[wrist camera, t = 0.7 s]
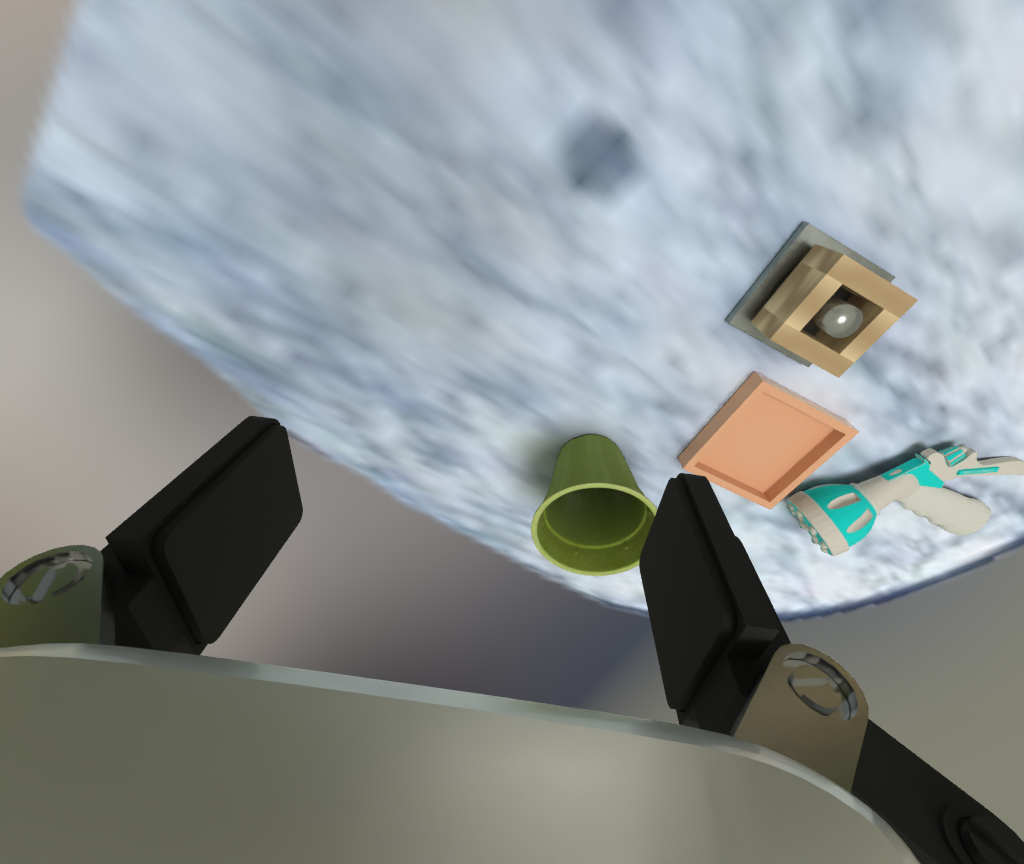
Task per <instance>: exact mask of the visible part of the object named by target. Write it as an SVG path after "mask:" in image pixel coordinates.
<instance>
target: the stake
mask: <svg viewBox="0 0 1024 864" xmlns="http://www.w3.org/2000/svg"><path fill="white" fill-rule="evenodd" d="M815 244H817V245H820V246H822V247H825V248H828V249H831V250H834V251H836V252H839V253H842V254H844V255H846V256H848V257H849V258H851V259H852V260H854V261H856V262H857V263H859V264H861V265H862V266H864V267H865V268H867V269H869V270H870V271H872V272H873V273H875V274H877V275H878V276H880V277H881V278H883V279H885V280H886V281H888V282H891V281H892V280H893V279H894V278H895V277H894V276H893V275H891V274H890V273H888V272H886V271H885V270H883V269H882V268H880V267H878V266H877V265H875V264H874V263H872V262H870V261H869V260H867V259H866V258H864V257H862V256H861V255H859V254H858V253H856V252H854V251H853V250H851V249H850V248H848V247H846V246H845V245H843V244H842V243H840V242H838V241H837V240H835V239H834V238H832V237H830V236H829V235H827V234H826V233H824V232H822V231H821V230H819V229H818V228H816V227H814V226H813V225H811V224H810V223H807V222H802V223H801V225H800V226H799V227H798V228H797V230H796V231H795V232H794V233H793V235H792V236H791V237H790V238H789V240H788V241H787V242H786V244H785V245H784V246H783V247H782V249H781V250H780V251H779V252H778V254H777V255H776V256H775V258H774V259H773V260H772V261H771V263H770V264H769V265H768V266H767V268H766V269H765V270H764V271H763V273H762V274H761V275H760V277H759V278H758V279H757V280H756V282H755V283H754V284H753V285H752V287H751V288H750V289H749V290H748V292H747V293H746V294H745V296H744V297H743V298H742V299H741V301H740V302H739V303H738V304H737V306H736V307H735V308H734V310H733V311H732V312H731V313H730V315H729V316H728V317H727V318H726V321H727V322H728V323H729V324H731V325H733V326H735V327H736V328H738V329H740V330H742V331H744V332H745V333H747V334H749V335H751V336H753V337H754V338H756V339H758V340H760V341H762V342H763V343H765V344H767V345H769V346H771V347H773V348H774V349H776V350H778V351H780V352H782V353H783V354H785V355H787V356H789V357H791V358H792V359H794V360H796V361H798V362H800V363H802V364H803V365H805V366H807V367H809V366H810V365H811V364H812V363H811V362H810V361H808V360H806V359H804V358H802V357H801V356H799V355H797V354H795V353H793V352H792V351H790V350H788V349H786V348H784V347H783V346H781V345H779V344H777V343H775V342H774V341H772V340H770V339H769V338H768V337H766V336H765V335H764V334H763V333H762V332H761V331H760V330H759V329H757V328H756V327H755V326H754V325H753V324H752V323H751V321H752V320H753V319H754V318H755V316H756V315H757V314H758V313H759V312H760V310H761V309H762V308H763V307H764V306H765V304H766V303H767V302H768V301H769V299H770V298H771V297H772V296H773V295H774V293H775V292H776V291H777V290H778V289H779V287H780V286H781V285H782V284H783V283H784V281H785V280H786V279H787V278H788V276H789V275H790V274H791V273H792V272H793V270H794V269H795V268H796V267H797V266H798V264H799V263H800V262H801V261H802V259H803V258H804V257H805V256H806V255H807V253H808V252H809V251H810V250H811V249H812V247H813V246H814V245H815ZM852 295H853V294H852V293H851V292H849V291H847V290H846V289H844V288H842V287H841V286H840V287H839V289H838V290H837V291H836V292H835V293H834V294H833V295H832V296H831V297H830V299H829V300H828V301H827V302H826V303H825V304H824V305H823V306H822V307H821V308H820V310H819V311H818V312H817V313H816V314H815V315H814V316H813V317H812V318H811V320H810V321H809V322H808V323H807V324H806V325H805V326H804V327H803V328H802V329H803V330H805V331H806V332H808V333H810V334H812V335H813V336H815V335H816V334H817V333H818V332H819V330H820V329H821V330H823V331H824V332H826V333H827V334H829V335H830V336H832V337H834V338H844V337H847V336H849V335H851V334H853V333H854V332H855V331H856V330H858V328H859V327H860V326H861V324H862V321H863V313H862V311H861V310H860V309H859V308H857V307H855V306H853V305H851V304H849V303H847V302H846V301H847V300H848V299H849V298H850V297H851V296H852Z"/></svg>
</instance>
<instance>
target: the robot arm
mask: <svg viewBox="0 0 1024 864" xmlns="http://www.w3.org/2000/svg"><path fill="white" fill-rule="evenodd" d="M302 513H303V507H302V502H301V498H300V493H299V488H298V483H297V478H296V473H295V469H294V464H293V459H292V455H291V449H290V445H289V440H288V435H287V431H286V428H285V427H284V426H281V425H280V423H279V422H278V420H276V419H272V418H265V417H257V416H249V417H248V418H246V419H245V420H244V421H242V422H241V423H240V424H239V425H238V426H237V427H235V428H234V429H233V430H232V431H231V432H229V433H228V434H227V435H226V436H225V437H224V438H222V439H221V440H220V441H219V442H218V443H216V444H215V445H214V446H213V447H212V448H211V449H209V450H208V451H207V452H206V453H205V454H203V455H202V456H201V457H200V458H199V459H198V460H196V461H195V462H194V463H193V464H192V465H190V466H189V467H188V468H187V469H186V470H185V471H183V472H182V473H181V474H180V475H179V476H177V477H176V478H175V479H174V480H173V481H172V482H170V483H169V484H168V485H167V486H166V487H164V488H163V489H162V490H161V491H160V492H159V493H157V494H156V495H155V496H154V497H153V498H151V499H150V500H149V501H148V502H147V503H146V504H144V505H143V506H142V507H141V508H140V509H138V510H137V511H136V512H135V513H134V514H132V515H131V516H130V517H129V518H128V519H127V520H125V521H124V522H123V523H122V524H121V525H119V526H118V527H117V528H116V529H115V530H114V531H112V532H111V533H110V534H109V535H108V536H107V537H106V539H107V541H108V543H109V544H108V545H107V546H106V547H105V548H103V549H102V550H101V551H99V550H97V549H96V548H95V547H90V546H85V545H73V546H72V545H70V546H65V547H60V548H55V549H52V550H49V551H46V552H43V553H41V554H38V555H35V556H33V557H31V558H29V559H27V560H25V561H24V562H21V563H20V564H18V565H17V566H15V567H14V568H12V569H11V570H9V571H8V572H6V573H5V574H4V575H3V576H2V577H1V578H0V864H1024V842H1023V841H1022V840H1021V839H1020V838H1019V837H1018V836H1017V834H1016V833H1015V832H1014V831H1013V830H1012V829H1010V828H1009V827H1008V826H1007V825H1006V824H1005V823H1003V822H1002V821H1001V820H1000V819H999V818H998V817H996V816H995V815H994V814H993V813H992V812H990V811H989V810H988V809H986V808H985V807H984V806H982V805H981V804H980V803H978V802H977V801H976V800H974V799H973V798H972V797H971V796H969V795H968V794H966V793H965V792H964V791H963V790H961V789H960V788H959V787H957V786H956V785H955V784H953V783H952V782H951V781H950V780H948V779H947V778H946V777H944V776H943V775H941V774H940V773H939V772H938V771H936V770H935V769H934V768H932V767H931V766H930V765H929V764H927V763H926V762H925V761H923V760H922V759H921V758H919V757H918V756H917V755H915V754H914V753H912V752H911V751H910V750H909V749H907V748H906V747H905V746H904V745H902V744H901V743H899V742H898V741H897V740H896V739H894V738H893V737H892V736H890V735H889V734H888V733H886V732H885V731H884V730H883V729H881V728H880V727H878V726H877V725H876V724H875V723H873V722H872V721H871V720H869V707H868V703H867V701H866V698H865V695H864V693H863V691H862V690H861V688H860V687H859V685H858V683H857V682H856V680H855V679H854V678H853V677H852V676H851V675H850V674H849V673H848V671H846V670H845V668H844V667H843V666H841V665H840V664H839V663H837V662H836V661H835V660H834V659H832V658H831V657H830V656H828V655H826V654H825V653H823V652H821V651H819V650H817V649H815V648H812V647H809V646H806V645H803V644H792V643H791V642H790V641H789V638H788V636H787V634H786V632H785V630H784V628H783V626H782V624H781V622H780V620H779V618H778V616H777V614H776V612H775V610H774V608H773V605H772V603H771V601H770V599H769V597H768V595H767V593H766V591H765V589H764V587H763V585H762V583H761V581H760V579H759V577H758V575H757V573H756V571H755V569H754V566H753V564H752V562H751V560H750V558H749V556H748V554H747V552H746V550H745V548H744V546H743V544H742V542H741V541H740V539H739V538H738V537H736V536H735V535H734V533H733V531H732V529H731V527H730V525H729V523H728V521H727V518H726V516H725V514H724V512H723V510H722V508H721V506H720V504H719V502H718V500H717V497H716V495H715V493H714V491H713V489H712V487H711V485H710V483H709V481H708V479H707V478H706V477H705V476H700V475H693V474H685V473H680V474H679V475H678V476H677V478H670V480H669V481H668V484H667V486H666V489H665V491H664V494H663V497H662V499H661V502H660V504H659V507H658V510H657V512H656V515H655V518H654V520H653V523H652V525H651V528H650V531H649V533H648V536H647V539H646V541H645V544H644V546H643V549H642V552H641V555H640V560H639V568H640V573H641V578H642V583H643V588H644V593H645V598H646V602H647V607H648V612H649V617H650V621H651V626H652V631H653V636H654V641H655V646H656V650H657V655H658V660H659V665H660V670H661V675H662V680H663V684H664V689H665V694H666V699H667V702H668V705H669V707H670V708H671V709H676V711H677V716H678V721H679V725H678V724H672V723H665V722H660V721H654V720H648V719H641V718H635V717H628V716H623V715H617V714H611V713H605V712H599V711H592V710H585V709H578V708H571V707H565V706H558V705H551V704H544V703H537V702H530V701H523V700H517V699H510V698H502V697H496V696H489V695H482V694H475V693H468V692H461V691H455V690H447V689H440V688H433V687H426V686H419V685H412V684H405V683H398V682H391V681H384V680H377V679H370V678H362V677H355V676H348V675H341V674H334V673H327V672H319V671H312V670H305V669H297V668H289V667H283V666H275V665H268V664H260V663H253V662H246V661H238V660H231V659H224V658H216V657H209V656H201V655H200V654H201V653H202V651H203V650H204V649H205V647H206V646H207V644H211V643H214V642H215V641H216V640H217V639H218V638H219V637H220V635H221V634H222V633H223V631H224V630H225V628H226V627H227V625H228V624H229V623H230V621H231V620H232V618H233V617H234V615H235V614H236V613H237V611H238V610H239V608H240V607H241V605H242V604H243V602H244V601H245V600H246V598H247V597H248V595H249V594H250V592H251V591H252V589H253V588H254V587H255V585H256V584H257V582H258V581H259V580H260V578H261V577H262V575H263V574H264V572H265V571H266V570H267V568H268V567H269V565H270V564H271V562H272V561H273V560H274V558H275V557H276V555H277V553H278V552H279V550H280V549H281V548H282V547H283V545H284V544H285V542H286V541H287V540H288V538H289V537H290V535H291V534H292V532H293V531H294V530H295V528H296V527H297V525H298V524H299V522H300V520H301V517H302Z"/></svg>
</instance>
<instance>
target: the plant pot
mask: <svg viewBox="0 0 1024 864" xmlns="http://www.w3.org/2000/svg"><path fill="white" fill-rule="evenodd" d="M657 510H658V509H657V508H656V506H655V505H654V504H653V503H652V502H651V501H650V500H649V499H648V498H647V497H645V495H644V494H643V492H642V491H641V490H640V489H639V487H638V485H637V483H636V481H635V479H634V477H633V475H632V473H631V471H630V469H629V467H628V465H627V463H626V461H625V459H624V456H623V454H622V452H621V451H620V449H619V447H618V446H617V445H616V444H615V443H614V442H612V441H611V440H610V439H608V438H606V437H603V436H599V435H585V436H582V437H579V438H575V439H572V440H570V441H569V442H567V443H566V444H565V445H564V446H563V447H562V449H561V450H560V452H559V455H558V458H557V462H556V465H555V469H554V472H553V476H552V479H551V483H550V487H549V490H548V494H547V495H546V497H545V499H544V501H543V503H542V504H541V505H540V507H539V508H538V509H537V511H536V513H535V515H534V517H533V521H532V526H531V534H532V538H533V541H534V544H535V546H536V548H537V549H538V550H539V552H540V553H541V554H542V555H543V556H544V557H545V558H546V559H547V560H548V561H550V562H551V563H552V564H554V565H556V566H558V567H560V568H562V569H564V570H566V571H569V572H572V573H576V574H581V575H591V576H605V575H612V574H617V573H622V572H625V571H628V570H630V569H632V568H634V567H636V566H638V565H639V560H640V555H641V552H642V549H643V546H644V544H645V541H646V539H647V536H648V533H649V531H650V528H651V525H652V523H653V520H654V518H655V515H656V512H657Z"/></svg>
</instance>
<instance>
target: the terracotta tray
mask: <svg viewBox="0 0 1024 864" xmlns="http://www.w3.org/2000/svg"><path fill="white" fill-rule="evenodd" d="M858 433H859V431H858V430H857V429H855V428H854V427H853V426H852V425H851V424H850V423H849V422H848V421H847V420H845V419H843V418H841V417H839V416H837V415H835V414H834V413H832V412H830V411H828V410H826V409H824V408H822V407H820V406H819V405H817V404H815V403H813V402H811V401H809V400H807V399H806V398H804V397H802V396H800V395H798V394H796V393H794V392H792V391H791V390H789V389H787V388H785V387H783V386H781V385H779V384H778V383H776V382H774V381H772V380H770V379H768V378H766V377H764V376H763V375H761V374H759V373H757V372H755V371H754V372H753V373H752V374H751V376H750V377H749V378H748V379H747V380H746V381H745V382H744V383H743V385H742V386H741V387H740V388H739V389H738V390H737V391H736V392H735V394H734V395H733V396H732V397H731V398H730V399H729V400H728V401H727V402H726V404H725V405H724V406H723V407H722V408H721V409H720V410H719V411H718V413H717V414H716V415H715V416H714V417H713V418H712V419H711V420H710V422H709V423H708V424H707V425H706V426H705V427H704V428H703V429H702V431H701V432H700V433H699V434H698V435H697V436H696V437H695V438H694V440H693V441H692V442H691V443H690V444H689V445H688V446H687V447H686V449H685V450H684V451H683V452H682V453H681V454H680V455H679V456H678V458H679V460H680V463H681V465H682V468H683V469H685V470H687V471H689V472H691V473H693V474H695V475H700V476H705V477H706V478H707V479H708V481H710V482H712V483H715V484H717V485H719V486H721V487H723V488H725V489H727V490H729V491H732V492H734V493H736V494H738V495H740V496H742V497H744V498H746V499H749V500H751V501H753V502H755V503H757V504H759V505H761V506H763V507H766V508H768V509H772V508H773V507H774V506H775V505H776V504H777V503H778V502H780V501H781V500H782V499H783V498H784V497H785V496H787V495H788V494H789V493H790V492H791V491H792V490H793V489H795V488H796V487H797V486H798V485H799V484H800V483H801V482H803V481H804V480H805V479H806V478H807V477H808V476H809V475H811V474H812V473H813V472H814V471H815V470H816V469H817V468H819V467H820V466H821V465H822V464H823V463H824V462H825V461H827V460H828V459H829V458H830V457H831V456H832V455H834V454H835V453H836V452H837V451H838V450H839V449H840V448H842V447H843V446H844V445H845V444H846V443H847V442H848V441H850V440H851V439H852V438H853V437H854V436H855V435H856V434H858Z"/></svg>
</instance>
